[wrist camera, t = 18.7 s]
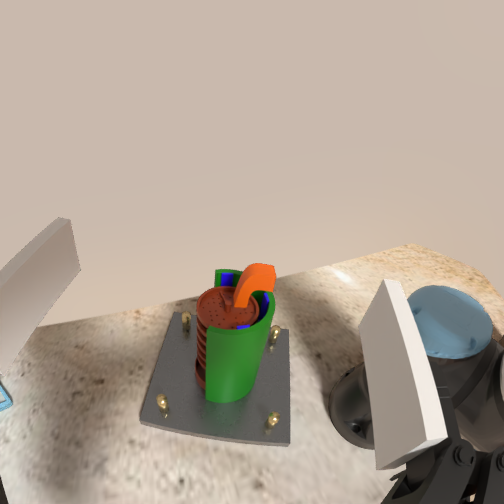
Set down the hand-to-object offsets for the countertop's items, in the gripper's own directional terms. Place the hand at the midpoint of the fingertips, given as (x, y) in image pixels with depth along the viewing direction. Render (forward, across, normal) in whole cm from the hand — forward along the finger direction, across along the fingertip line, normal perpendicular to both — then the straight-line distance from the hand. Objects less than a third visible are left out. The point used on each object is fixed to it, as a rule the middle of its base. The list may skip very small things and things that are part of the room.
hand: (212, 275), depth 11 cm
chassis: (+15, 0, -32) cm, 35 cm away
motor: (+15, 0, -31) cm, 34 cm away
